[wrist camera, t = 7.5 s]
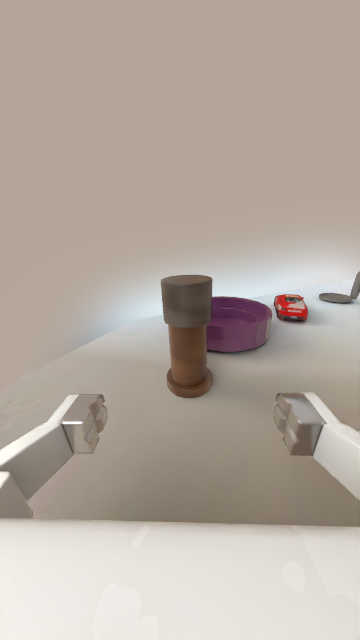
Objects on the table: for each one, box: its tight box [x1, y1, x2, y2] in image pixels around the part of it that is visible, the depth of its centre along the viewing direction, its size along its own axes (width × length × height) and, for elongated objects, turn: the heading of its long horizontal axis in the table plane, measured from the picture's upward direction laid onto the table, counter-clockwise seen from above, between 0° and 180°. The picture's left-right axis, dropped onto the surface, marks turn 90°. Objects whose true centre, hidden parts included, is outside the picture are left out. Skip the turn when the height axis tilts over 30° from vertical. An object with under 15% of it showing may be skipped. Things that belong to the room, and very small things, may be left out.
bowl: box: [207, 297, 272, 352], centre depth 33 cm, size 15×15×4 cm
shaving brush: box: [161, 275, 212, 398], centre depth 20 cm, size 5×5×12 cm
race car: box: [274, 294, 308, 321], centre depth 41 cm, size 13×5×4 cm, turn 158°
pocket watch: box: [319, 272, 360, 303], centre depth 45 cm, size 8×8×10 cm
